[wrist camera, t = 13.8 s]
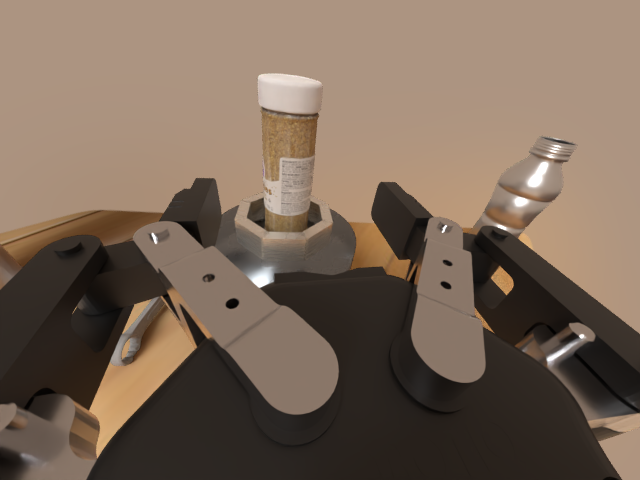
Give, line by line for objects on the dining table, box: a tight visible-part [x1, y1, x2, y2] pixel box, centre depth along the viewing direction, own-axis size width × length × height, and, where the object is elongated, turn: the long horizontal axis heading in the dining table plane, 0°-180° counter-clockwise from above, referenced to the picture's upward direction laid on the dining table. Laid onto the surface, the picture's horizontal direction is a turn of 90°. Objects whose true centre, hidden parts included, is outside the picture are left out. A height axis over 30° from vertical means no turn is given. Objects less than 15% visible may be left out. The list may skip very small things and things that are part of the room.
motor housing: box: [215, 192, 356, 288], centre depth 28 cm, size 15×18×12 cm
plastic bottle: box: [469, 136, 578, 270], centre depth 33 cm, size 6×7×20 cm
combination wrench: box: [110, 296, 165, 366], centre depth 29 cm, size 4×1×20 cm
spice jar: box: [258, 74, 323, 232], centre depth 20 cm, size 5×5×14 cm
